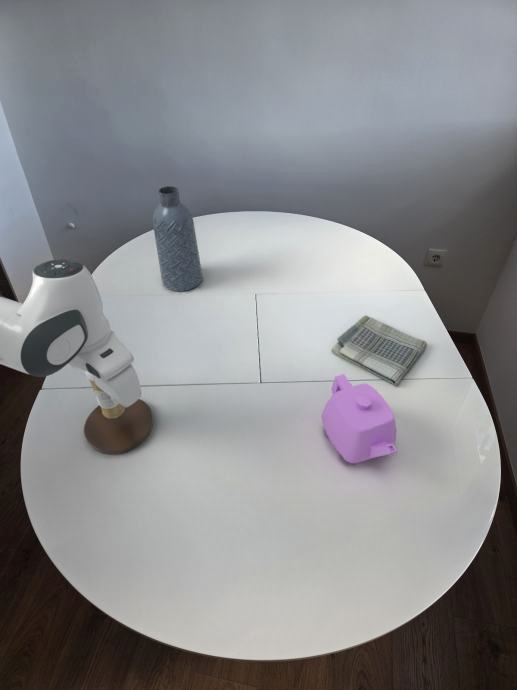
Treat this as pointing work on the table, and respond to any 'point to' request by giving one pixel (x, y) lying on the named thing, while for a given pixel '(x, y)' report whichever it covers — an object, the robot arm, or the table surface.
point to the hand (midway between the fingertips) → (107, 395)
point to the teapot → (359, 421)
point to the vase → (176, 242)
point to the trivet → (119, 429)
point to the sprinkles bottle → (105, 400)
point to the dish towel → (379, 349)
